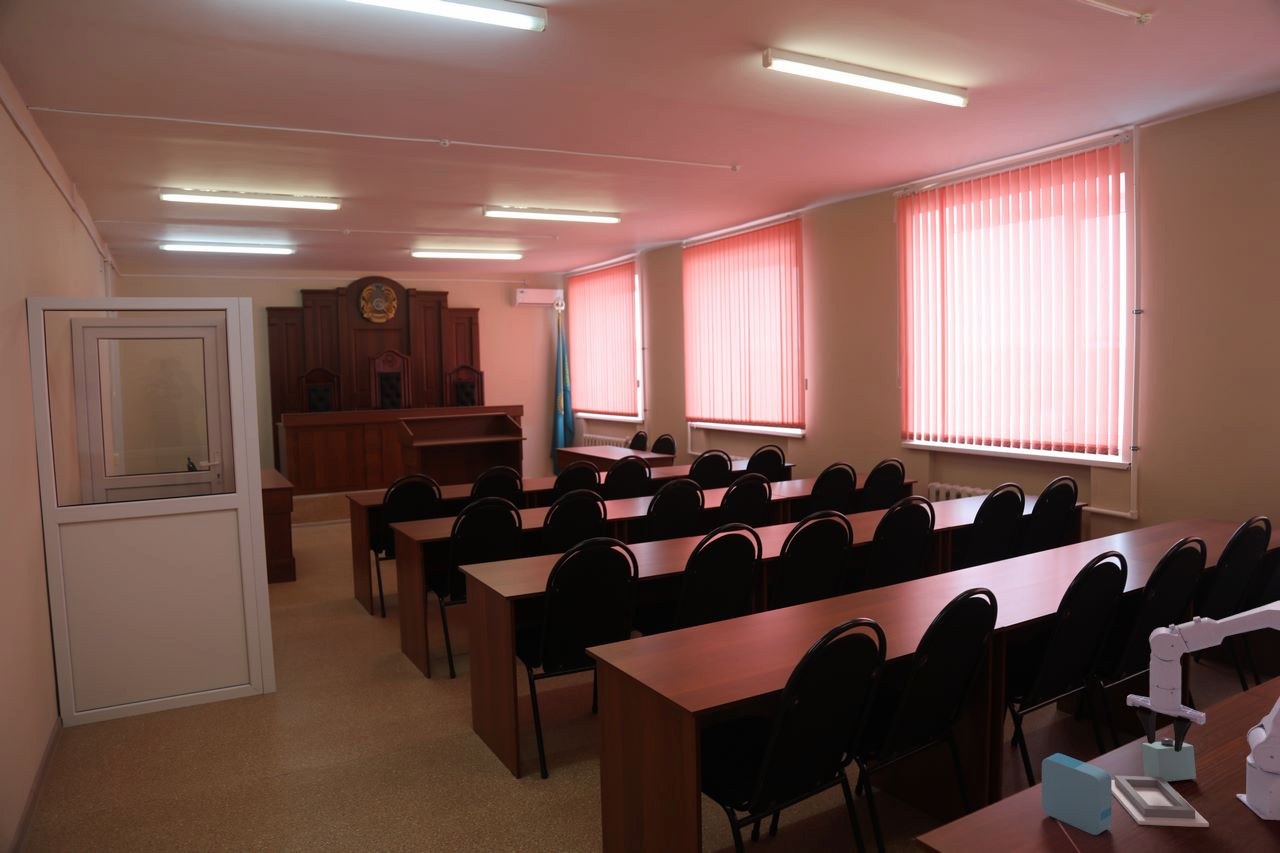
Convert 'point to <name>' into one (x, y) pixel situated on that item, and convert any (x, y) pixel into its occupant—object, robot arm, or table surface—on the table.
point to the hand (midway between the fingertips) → (1164, 746)
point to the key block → (1168, 760)
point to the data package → (1076, 793)
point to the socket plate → (1154, 802)
